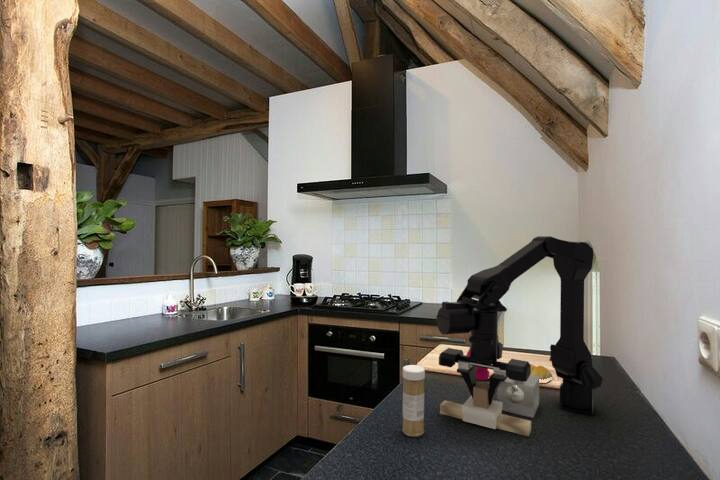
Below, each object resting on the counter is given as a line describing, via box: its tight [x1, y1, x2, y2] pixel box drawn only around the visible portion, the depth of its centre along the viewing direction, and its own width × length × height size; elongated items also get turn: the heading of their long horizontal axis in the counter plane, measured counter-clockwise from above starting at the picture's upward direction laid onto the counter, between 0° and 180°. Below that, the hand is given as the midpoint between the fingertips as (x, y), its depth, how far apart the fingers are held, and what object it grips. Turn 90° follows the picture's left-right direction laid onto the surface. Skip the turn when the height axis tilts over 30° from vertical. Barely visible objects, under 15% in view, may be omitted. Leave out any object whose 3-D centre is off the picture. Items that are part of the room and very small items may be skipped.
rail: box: [439, 399, 532, 437], centre depth 87 cm, size 19×3×2 cm, turn 58°
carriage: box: [462, 381, 503, 430], centre depth 87 cm, size 7×7×8 cm
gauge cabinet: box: [496, 375, 540, 419], centre depth 94 cm, size 8×8×7 cm
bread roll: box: [529, 363, 553, 380], centre depth 115 cm, size 8×9×4 cm
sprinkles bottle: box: [401, 364, 426, 438], centre depth 82 cm, size 5×5×14 cm
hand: (482, 402), depth 87 cm, fingers closed on carriage, 3 cm apart
